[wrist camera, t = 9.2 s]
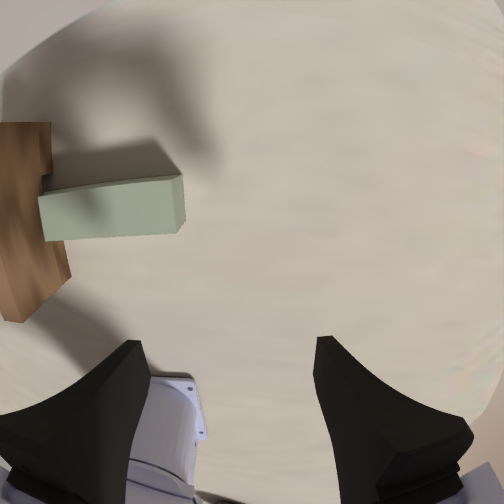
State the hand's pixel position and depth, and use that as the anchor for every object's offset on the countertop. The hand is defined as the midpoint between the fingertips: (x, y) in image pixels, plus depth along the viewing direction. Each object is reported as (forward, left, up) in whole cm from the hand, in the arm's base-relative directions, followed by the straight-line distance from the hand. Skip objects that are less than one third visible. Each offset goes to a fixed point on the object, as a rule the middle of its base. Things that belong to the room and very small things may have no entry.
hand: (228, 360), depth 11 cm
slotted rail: (+5, +14, -9) cm, 18 cm away
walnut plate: (+6, +14, -9) cm, 18 cm away
